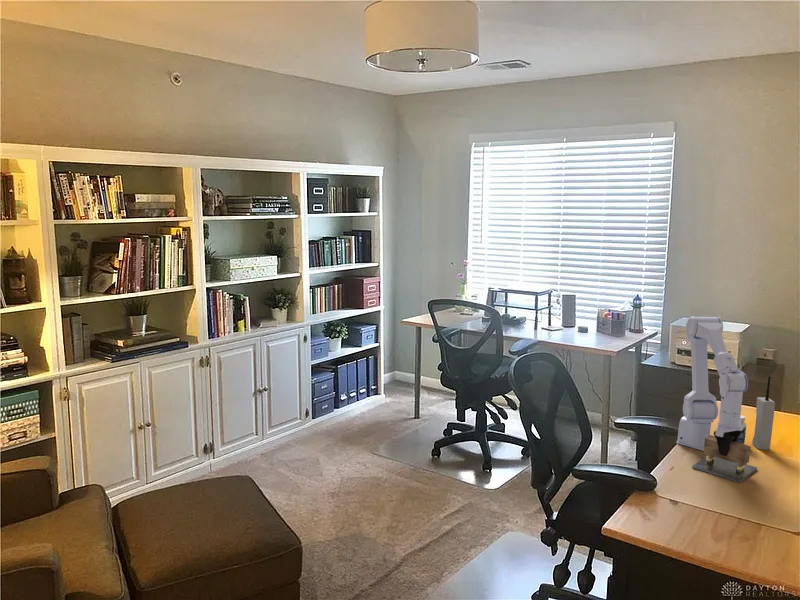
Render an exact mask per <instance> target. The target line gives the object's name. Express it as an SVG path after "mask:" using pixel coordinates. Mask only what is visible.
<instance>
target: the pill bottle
mask: <svg viewBox="0 0 800 600" xmlns="http://www.w3.org/2000/svg"><path fill="white" fill-rule="evenodd" d="M740 420H741V426H740V427H743V430H742V434H741V435H740V436H739V438H738V440H737V443H741V444H744V445H745V441H746V433H747V423H745V420H746V416H744V415H742V414H741V415H740Z"/></svg>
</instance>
